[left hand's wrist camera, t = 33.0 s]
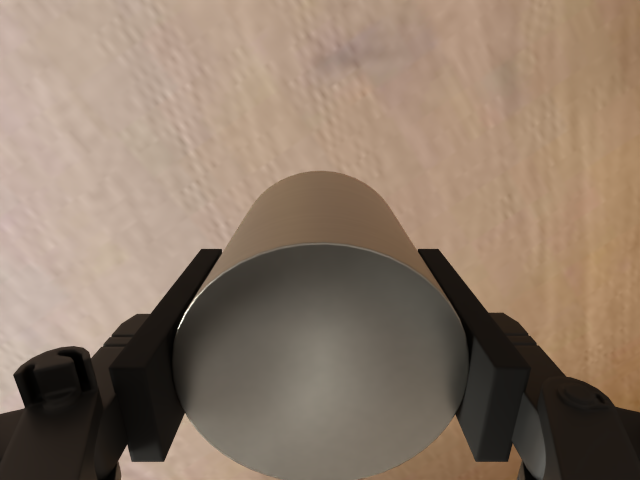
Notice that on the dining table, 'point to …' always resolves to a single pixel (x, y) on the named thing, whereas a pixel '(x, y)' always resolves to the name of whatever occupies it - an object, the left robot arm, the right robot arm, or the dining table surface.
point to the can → (320, 338)
